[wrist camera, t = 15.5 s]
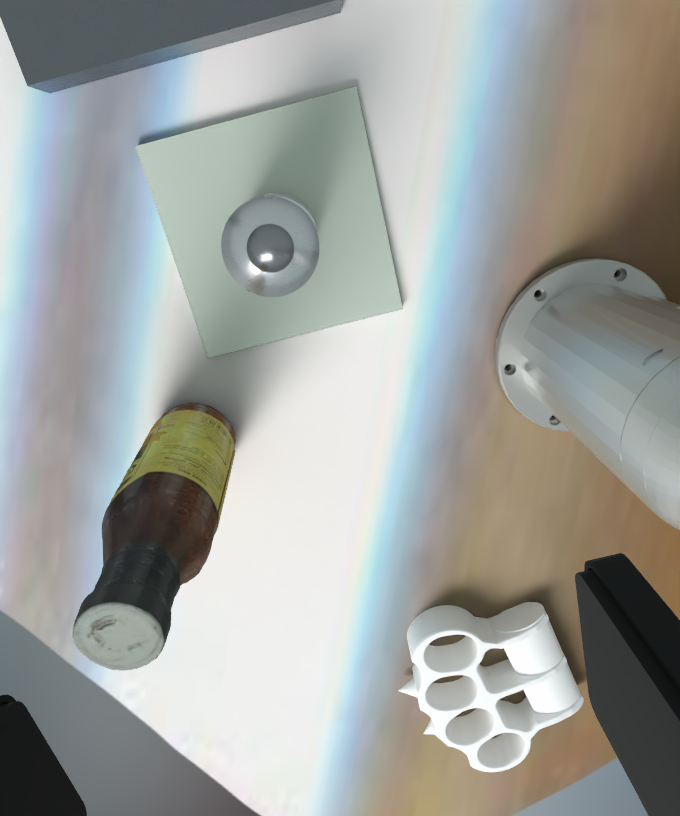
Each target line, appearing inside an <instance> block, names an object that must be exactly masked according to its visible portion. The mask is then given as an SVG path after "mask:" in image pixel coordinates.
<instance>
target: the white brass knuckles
mask: <svg viewBox="0 0 680 816" xmlns="http://www.w3.org/2000/svg"><path fill="white" fill-rule="evenodd" d="M456 634H461V635H466V636H465V637H464V638H463V639H462V640H460V641H459V642H457V643H454V644H450V645H443V646H432V645H429V643H431V642H432V641H433V640H435V639H437V638H439V637H443V636H449V635H456ZM407 640H408V644H409V649H410V654H411V659H412V662H413V663H415V664H414V666H413V667H412V670H413V676H414V678H413V679H412V680H410V681H409V682H408V683H407V684H406V685H404V686H403V687H402V688H401V689H400V690H398V691H400V692H403V693H406V694H409V695H412V696H415V697H418V702H419V707H420V710H421V711H423V712H425V713H427V714H428V715H429V716H430V717H431V720H430V722H429V724H428V726H427V728H426V730H425V732H424V734H435V735H436V736H437V737H438V738H439V739H441V740H442V741H443V742H444V743H445V744H446V745H447V746H450V747H454V748H457V749H459V750H461V751H463V752H464V753H465V754H466V755H467V756H468V759H469V763H470V766H471V767H473V768H475V769H477V770H480V771H484V772H499V771H504V770H507V769H510V768H512V767H514V766H516V765H517V764H519V763H520V762H521V761H522V760H523V759H524V758H525V757H526V756H527V754H528V752H529V750H530V746H531V738H532V737H533V736H534V735H535V734H536V732H537V731H538V730H540V729H542V728H544V727H547V726H550V725H552V724H555V723H558V722H560V721H561V720H563V719H565V718H567V717H569V716H571V715H573V714H574V713H575V712H577V711H578V710H579V709H580V708H581V706H582V705H583V701H584V700H583V697H582V695H581V693H580V691H579V689H578V687H577V684H576V682H575V680H574V677H573V675H572V673H571V670H570V668H569V666H568V663H567V660H566V657H565V655H564V654H563V652H562V649H561V647H560V645H559V642H558V640H557V638H556V635H555V633H554V631H553V628H552V626H551V623H550V621H549V618H548V615H547V613H546V611H545V609H544V607H543V606H542V605H541V604H540V603H537V602H525V603H522V604H520V605H517V606H515V607H512V608H510V609H507V610H505V611H502V612H501V613H500V614H498V615H496V616H493V617H491V618H479V617H474V616H473V615H472V614H471V613H470V612H468V611H467V610H465V609H463V608H461V607H457V606H452V605H442V606H436V607H433V608H430V609H427V610H425V611H424V612H422V613H421V614H419V615H418V616H417V617H416V618H415V619H414V620H413V621H412V623H411V624H410V626H409V629H408V632H407ZM492 648H498V649H502V648H504V650H505V652H506V654H507V656H508V658H509V659H507V660H504V661H502V662H499V663H496V664H494V665H491V666H488V667H484V666H481V665H480V664H479V663H480V662H481V661H482V659H483V657H484V654H485V652H486V651H487V650H489V649H492ZM454 675H464V676H463V677H462V678H460V679H458V680H456V681H452V682H445V683H433V682H434V681H435V680H437V679H439V678H442V677H447V676H454ZM521 690H524V692H525V694H526V696H527V697H525V699H524V700H523V701H522V702H521V703H518V704H513V703H510V702H507V701H500V700H499V699H501V698H503V697H505V696H508V695H511V694H513V693H516V692H519V691H521ZM473 708H477V709H476V710H474V711H473V712H471V713H470V714H467V715H465V716H460V717H455V716H457V715H458V714H460V713H461V712H463V711H465V710H468V709H473ZM501 733H503V734H501ZM498 734H501V735H500V736H498V737H495V738H492V737H494V736H496V735H498Z"/></svg>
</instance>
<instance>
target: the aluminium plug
mask: <svg viewBox="0 0 680 816" xmlns="http://www.w3.org/2000/svg"><path fill="white" fill-rule="evenodd" d="M319 249H320V248H319V239H318V234H317V229H316V224H315V221H314V218H313V216H312V214H311V212H310V210H309V209H308V208H307V206H306V205H305V204H304V203H303V202H302V201H300V200H299V199H297V198H296V197H294V196H292V195H289V194H286V193H279V192H275V193H268V194H265V195H262V196H259V197H257V198H254V199H252V200H249V201H247V202H245V203H243V204H242V205H241V206H239V207H238V208H237V209H236V210H235V211H234V212H233V213H232V215H231V216H230V217H229V219H228V221H227V222H226V224H225V227H224V230H223V233H222V239H221V251H222V257H223V260H224V263H225V266H226V268H227V270H228V272H229V273H230V275H231V276H232V278H233V279H234V280H235V281H236V282H237V283H238V284H239V285H240V286H242V287H243V288H244V289H246V290H247V291H249V292H251V293H254V294H256V295H259V296H264V297H280V296H285V295H288V294H291V293H293V292H295V291H296V290H298V289H299V288H301V287H302V286H303V285H304V284H305V283H306V282H307V281H308V280H309V279H310V277H311V276H312V274H313V273H314V270H315V268H316V266H317V263H318V258H319Z"/></svg>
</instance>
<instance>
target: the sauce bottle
mask: <svg viewBox="0 0 680 816" xmlns="http://www.w3.org/2000/svg"><path fill="white" fill-rule="evenodd" d="M234 445H235V435H234V432H233V429H232V427H231V426H230V424H229V422H228V421H227V420H226V419H225V418H224V417H223V415H222V414H220V413H219V412H218V411H216V410H215V409H213V408H211V407H209V406H205V405H201V404H191V403H189V404H182V405H179V406H176V407H174V408H172V409H171V410H169V411H168V412H167V413H165V414H163V415H162V417H161V418H160V419H159V420H158V421H157V422H156V423H155V424H154V426H153V427H152V429H151V431H150V432H149V434H148V436H147V438H146V439H145V441H144V443H143V445H142V447H141V449H140V450H139V452H138V454H137V456H136V457H135V459H134V461H133V462H132V465H131V467H130V468H129V469H128V471H127V473H126V475H125V477H124V479H123V481H122V483H121V484H120V486H119V488H118V489H117V491H116V493H115V495H114V497H113V498H112V500H111V502H110V504H109V506H108V508H107V510H106V512H105V515H104V518H103V523H102V538H103V568H102V574H101V576H100V578H99V580H98V582H97V584H96V586H95V589H94V591H93V592H92V593H91V594H89V595H88V596H87V597H86V598H85V600H84V601H83V603H82V604H81V607H80V609H79V612H78V615H77V617H76V620H75V623H74V628H73V638H74V642H75V644H76V646H77V648H78V650H79V651H80V652H81V653H82V654H83V655H84V656H86V657H87V658H88V659H89V660H91V661H93V662H94V663H97V664H99V665H101V666H103V667H106V668H109V669H113V670H132V669H137V668H140V667H142V666H144V665H147V664H149V663H150V662H151V661H152V660H154V659H156V658H157V657H158V655H159V654H160V653H161V651H162V649H163V647H164V645H165V642H166V639H167V636H168V633H169V630H170V626H171V607H172V604H173V601H174V597H175V596H176V594H177V592H178V590H179V588H180V585H182V584H183V583H186V582H188V581H189V580H191V579H192V578H194V577H195V576H196V575H198V574H199V572H200V570H201V569H202V567H203V565H204V563H205V562H206V560H207V557H208V555H209V552H210V549H211V545H212V540H213V537H214V535H215V533H216V531H217V528H218V524H219V519H220V515H221V511H222V507H223V503H224V499H225V494H226V490H227V486H228V481H229V477H230V473H231V468H232V464H233V460H234V456H235V450H234Z"/></svg>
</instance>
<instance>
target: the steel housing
mask: <svg viewBox="0 0 680 816" xmlns="http://www.w3.org/2000/svg"><path fill="white" fill-rule="evenodd" d="M342 1H343V0H0V17H1V19H2V22H3V24H4V27H5V30H6V32H7V35H8V37H9V40H10V42H11V45H12V47H13V50H14V53H15V55H16V58H17V60H18V63H19V65H20V68H21V70H22V73H23V75H24V78H25V81H26V83H27V86H29V87H32V88H36V89H39V90H42V91H45V92H48V93H52V92H56V91H59V90H63V89H67V88H70V87H74V86H77V85H81V84H85V83H88V82H92V81H95V80H99V79H103V78H106V77H110V76H113V75H117V74H121V73H124V72H128V71H132V70H135V69H139V68H142V67H146V66H150V65H153V64H157V63H160V62H164V61H168V60H171V59H175V58H178V57H182V56H186V55H189V54H193V53H196V52H200V51H204V50H207V49H211V48H214V47H218V46H222V45H225V44H229V43H233V42H236V41H240V40H243V39H247V38H251V37H254V36H258V35H261V34H265V33H269V32H272V31H276V30H279V29H283V28H287V27H290V26H294V25H297V24H301V23H305V22H308V21H312V20H315V19H319V18H323V17H326V16H330V15H333V14H337V13H340V12H341V6H342Z"/></svg>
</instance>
